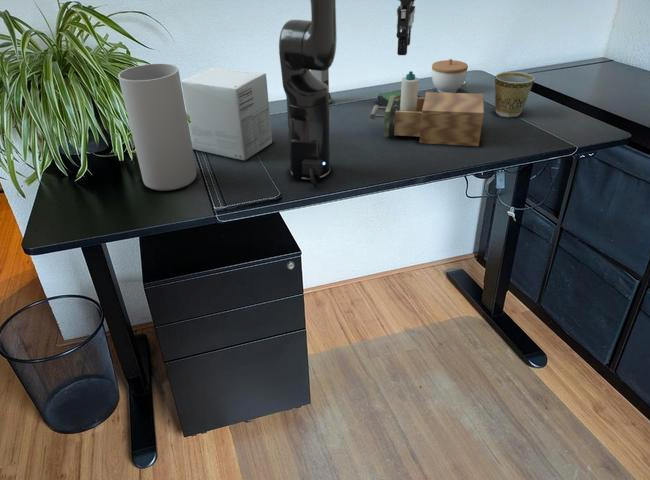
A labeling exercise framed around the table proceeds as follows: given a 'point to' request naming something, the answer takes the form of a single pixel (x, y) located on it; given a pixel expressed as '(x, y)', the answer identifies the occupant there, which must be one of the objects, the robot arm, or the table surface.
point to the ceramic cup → (511, 92)
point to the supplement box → (228, 112)
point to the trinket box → (448, 75)
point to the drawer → (400, 118)
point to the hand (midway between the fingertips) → (403, 49)
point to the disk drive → (385, 98)
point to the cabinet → (452, 118)
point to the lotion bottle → (409, 92)
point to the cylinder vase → (159, 125)
